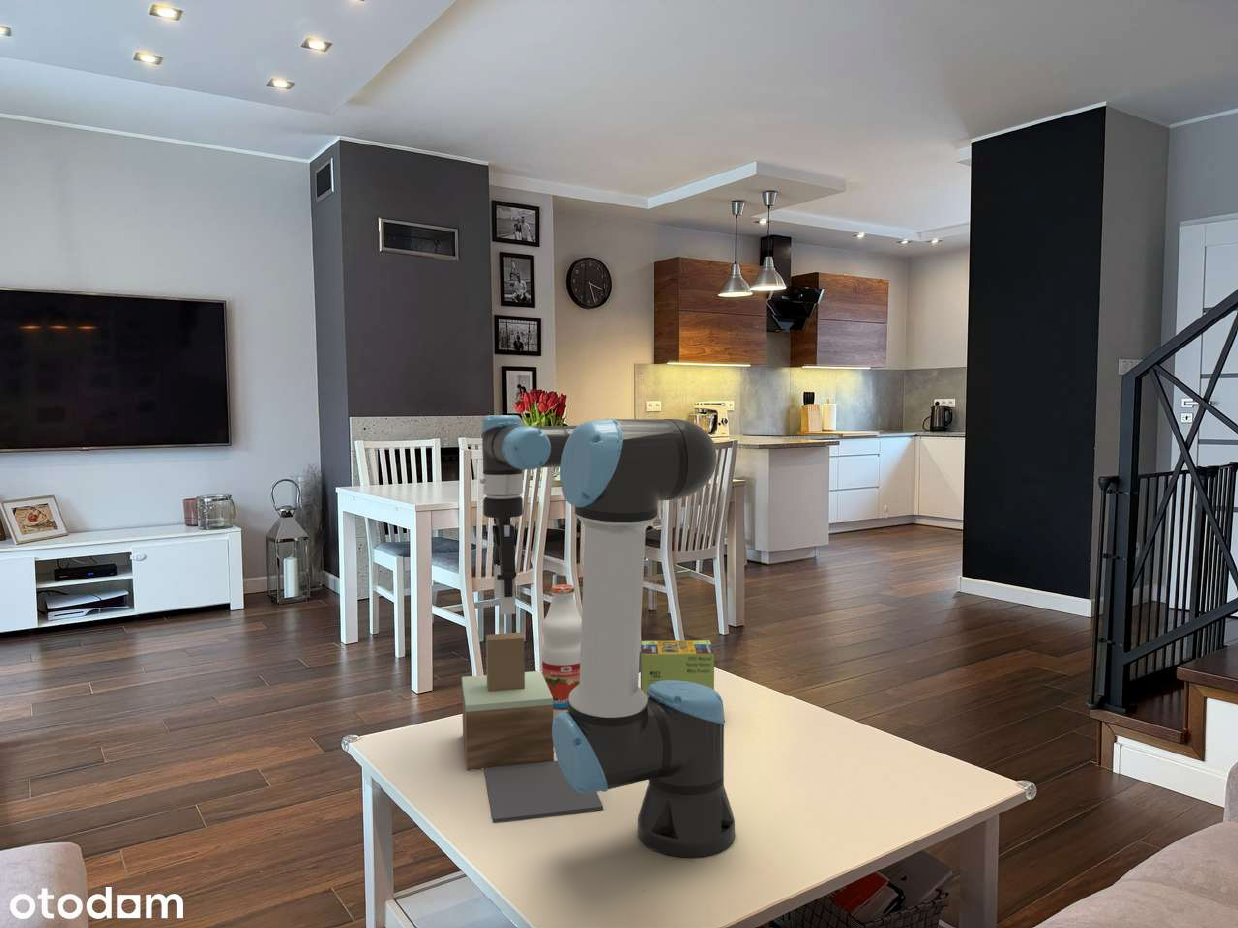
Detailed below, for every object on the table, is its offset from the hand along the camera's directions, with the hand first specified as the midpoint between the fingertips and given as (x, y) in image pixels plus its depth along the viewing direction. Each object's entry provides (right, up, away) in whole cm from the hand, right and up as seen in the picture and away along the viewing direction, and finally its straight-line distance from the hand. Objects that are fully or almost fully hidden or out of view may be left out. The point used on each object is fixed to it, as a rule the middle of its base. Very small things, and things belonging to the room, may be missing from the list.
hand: (504, 605), depth 164 cm
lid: (0, -17, +1) cm, 17 cm away
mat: (+8, -29, -16) cm, 35 cm away
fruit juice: (+10, -27, +20) cm, 35 cm away
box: (0, -28, +2) cm, 28 cm away
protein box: (+34, -27, +18) cm, 47 cm away
